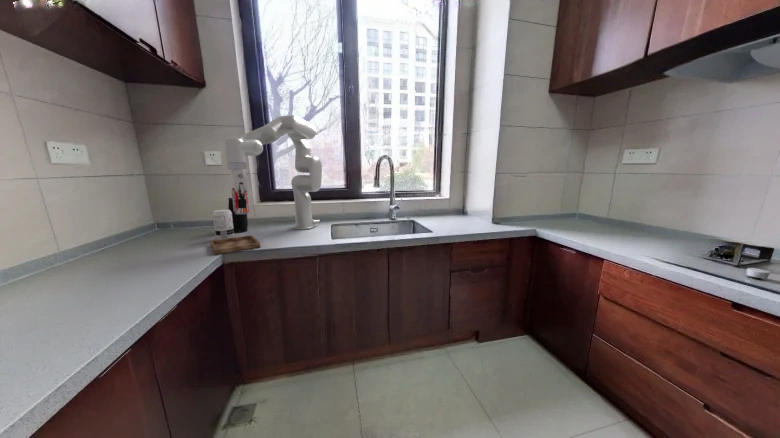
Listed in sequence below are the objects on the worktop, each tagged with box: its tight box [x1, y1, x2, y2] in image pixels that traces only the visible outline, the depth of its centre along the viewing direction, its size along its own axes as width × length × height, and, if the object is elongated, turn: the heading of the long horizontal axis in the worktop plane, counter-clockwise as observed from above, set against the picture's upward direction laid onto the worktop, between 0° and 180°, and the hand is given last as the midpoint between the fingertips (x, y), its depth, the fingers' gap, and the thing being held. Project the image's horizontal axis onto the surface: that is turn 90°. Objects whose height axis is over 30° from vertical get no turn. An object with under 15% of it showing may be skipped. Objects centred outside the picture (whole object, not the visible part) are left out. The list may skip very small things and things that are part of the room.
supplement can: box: [212, 208, 236, 240], centre depth 137 cm, size 8×8×15 cm
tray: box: [209, 234, 262, 256], centre depth 126 cm, size 18×18×2 cm
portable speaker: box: [227, 197, 249, 234], centre depth 154 cm, size 9×9×20 cm
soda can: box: [231, 187, 250, 215], centre depth 123 cm, size 6×6×12 cm
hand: (241, 206), depth 123 cm, fingers closed on soda can, 5 cm apart
